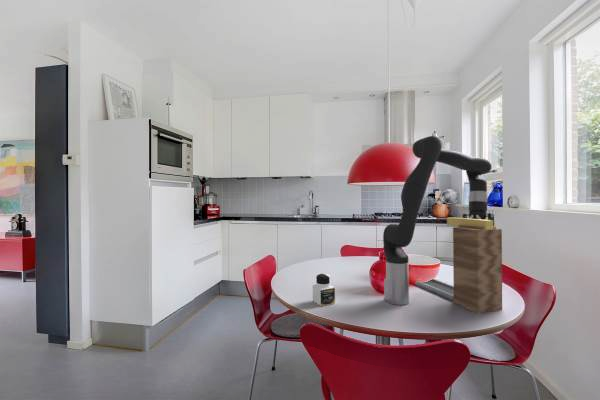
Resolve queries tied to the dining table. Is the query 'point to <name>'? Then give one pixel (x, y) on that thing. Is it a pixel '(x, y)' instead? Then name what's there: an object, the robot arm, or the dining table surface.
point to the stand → (477, 268)
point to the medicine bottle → (323, 290)
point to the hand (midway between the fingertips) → (477, 235)
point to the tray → (438, 288)
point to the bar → (470, 222)
